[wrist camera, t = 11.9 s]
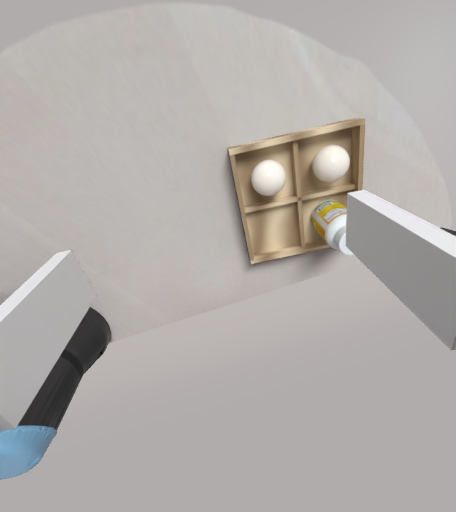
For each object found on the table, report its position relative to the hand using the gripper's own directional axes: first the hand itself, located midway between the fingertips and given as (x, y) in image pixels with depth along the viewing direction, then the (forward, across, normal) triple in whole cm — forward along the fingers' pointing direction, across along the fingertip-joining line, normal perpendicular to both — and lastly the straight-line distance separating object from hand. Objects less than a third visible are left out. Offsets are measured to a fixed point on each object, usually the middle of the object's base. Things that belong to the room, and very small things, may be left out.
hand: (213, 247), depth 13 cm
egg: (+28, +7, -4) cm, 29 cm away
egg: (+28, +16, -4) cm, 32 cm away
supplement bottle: (+28, +16, -12) cm, 34 cm away
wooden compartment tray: (+28, +12, -8) cm, 32 cm away
